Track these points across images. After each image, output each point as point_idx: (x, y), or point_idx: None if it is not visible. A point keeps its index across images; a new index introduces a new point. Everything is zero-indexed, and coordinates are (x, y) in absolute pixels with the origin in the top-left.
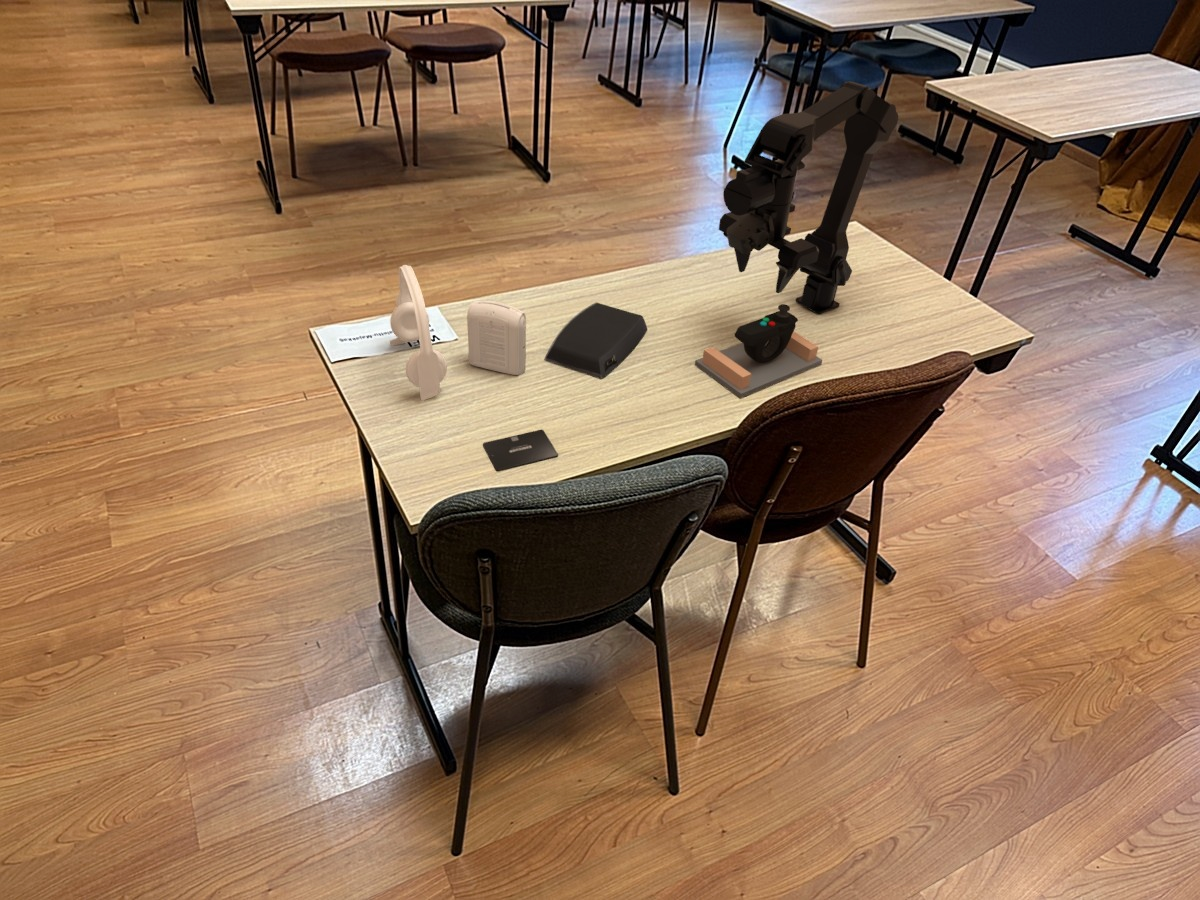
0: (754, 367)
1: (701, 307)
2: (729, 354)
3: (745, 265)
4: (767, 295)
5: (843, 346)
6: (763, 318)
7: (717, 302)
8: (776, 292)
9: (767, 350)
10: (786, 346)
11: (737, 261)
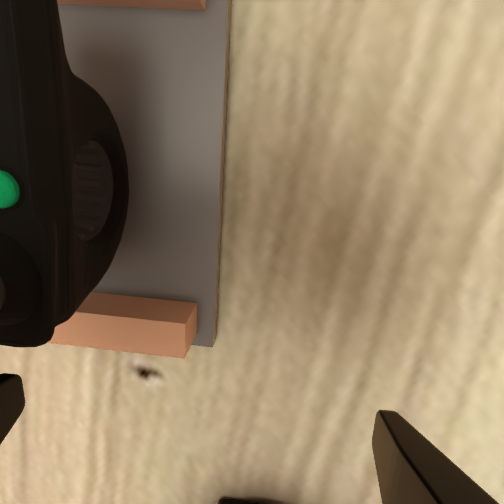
0: None
1: (491, 282)
2: (187, 101)
3: (384, 485)
4: None
5: (73, 426)
6: (4, 181)
7: (470, 348)
8: (11, 374)
9: (92, 201)
10: (118, 296)
11: (455, 471)
